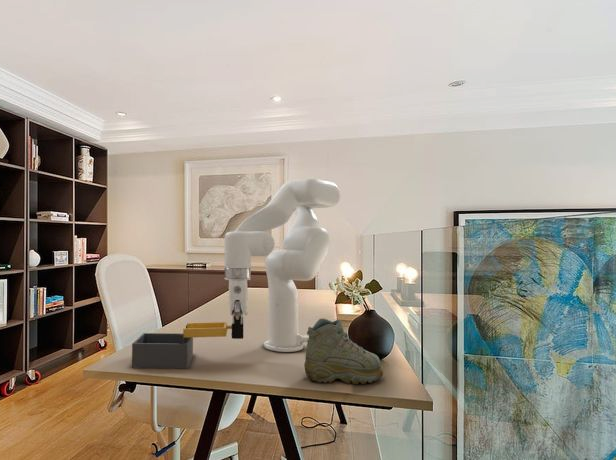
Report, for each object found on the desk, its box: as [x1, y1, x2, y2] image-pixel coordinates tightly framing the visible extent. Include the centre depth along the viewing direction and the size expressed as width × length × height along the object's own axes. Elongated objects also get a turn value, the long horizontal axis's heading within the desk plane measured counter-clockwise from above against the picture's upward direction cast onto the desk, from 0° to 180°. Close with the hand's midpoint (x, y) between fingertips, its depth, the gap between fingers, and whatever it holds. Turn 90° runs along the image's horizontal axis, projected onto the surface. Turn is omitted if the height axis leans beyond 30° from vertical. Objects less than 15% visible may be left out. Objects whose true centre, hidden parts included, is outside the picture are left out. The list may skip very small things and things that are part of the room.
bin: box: [131, 324, 194, 369], centre depth 111 cm, size 15×12×9 cm
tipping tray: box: [182, 321, 232, 338], centre depth 110 cm, size 16×8×3 cm, turn 88°
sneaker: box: [304, 318, 384, 385], centre depth 97 cm, size 11×19×15 cm, turn 78°
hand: (237, 334), depth 110 cm, fingers open, 9 cm apart
